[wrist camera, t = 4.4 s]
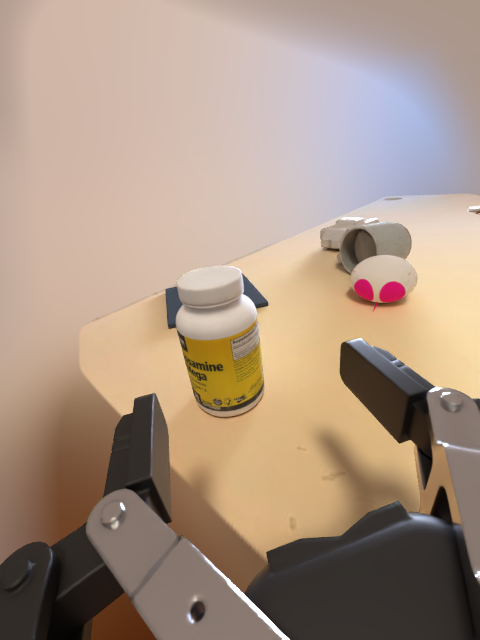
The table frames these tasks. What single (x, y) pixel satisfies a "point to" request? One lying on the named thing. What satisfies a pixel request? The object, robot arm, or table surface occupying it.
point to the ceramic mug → (373, 243)
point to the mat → (176, 304)
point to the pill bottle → (220, 340)
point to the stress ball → (383, 279)
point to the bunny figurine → (341, 231)
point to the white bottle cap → (474, 208)
